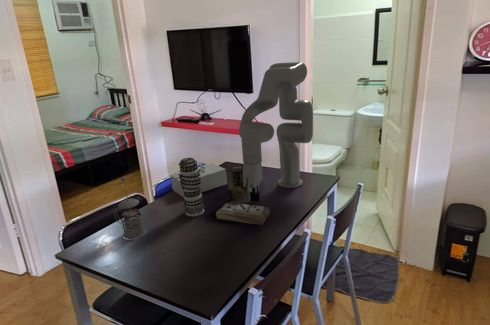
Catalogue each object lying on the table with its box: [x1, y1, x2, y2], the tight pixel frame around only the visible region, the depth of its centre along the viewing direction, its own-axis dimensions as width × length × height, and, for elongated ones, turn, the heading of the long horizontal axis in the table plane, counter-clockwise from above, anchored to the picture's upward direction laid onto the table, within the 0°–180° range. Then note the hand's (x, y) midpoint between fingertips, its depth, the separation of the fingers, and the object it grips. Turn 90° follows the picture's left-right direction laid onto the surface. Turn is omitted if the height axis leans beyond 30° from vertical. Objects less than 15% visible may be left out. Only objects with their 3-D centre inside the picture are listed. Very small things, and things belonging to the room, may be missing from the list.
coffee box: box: [226, 165, 251, 204], centre depth 162 cm, size 9×6×16 cm
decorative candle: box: [178, 157, 205, 217], centre depth 153 cm, size 9×9×25 cm
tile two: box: [249, 204, 265, 216], centre depth 146 cm, size 5×5×3 cm
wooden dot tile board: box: [215, 202, 271, 226], centre depth 149 cm, size 10×21×3 cm, turn 66°
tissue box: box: [170, 162, 228, 198], centre depth 183 cm, size 14×25×11 cm, turn 125°
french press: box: [113, 176, 148, 239], centre depth 139 cm, size 10×12×25 cm
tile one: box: [221, 204, 237, 212], centre depth 152 cm, size 5×5×3 cm
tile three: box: [235, 203, 251, 214], centre depth 149 cm, size 5×5×3 cm
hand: (255, 200), depth 144 cm, fingers closed
